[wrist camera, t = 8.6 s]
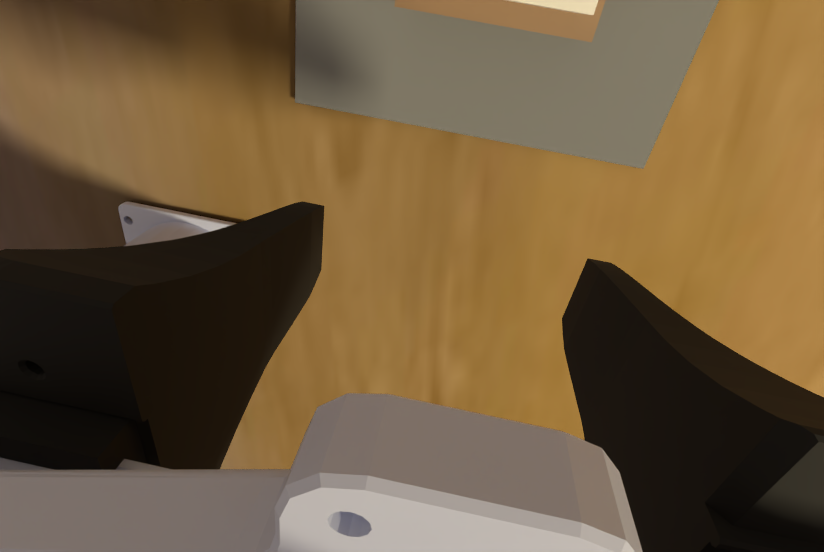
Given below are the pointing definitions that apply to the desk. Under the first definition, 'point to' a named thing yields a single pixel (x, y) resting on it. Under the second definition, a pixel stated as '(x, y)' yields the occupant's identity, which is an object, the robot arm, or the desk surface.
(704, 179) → the desk surface
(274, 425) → the desk surface
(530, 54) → the mat
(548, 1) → the white slab
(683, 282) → the desk surface
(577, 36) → the walnut slab
